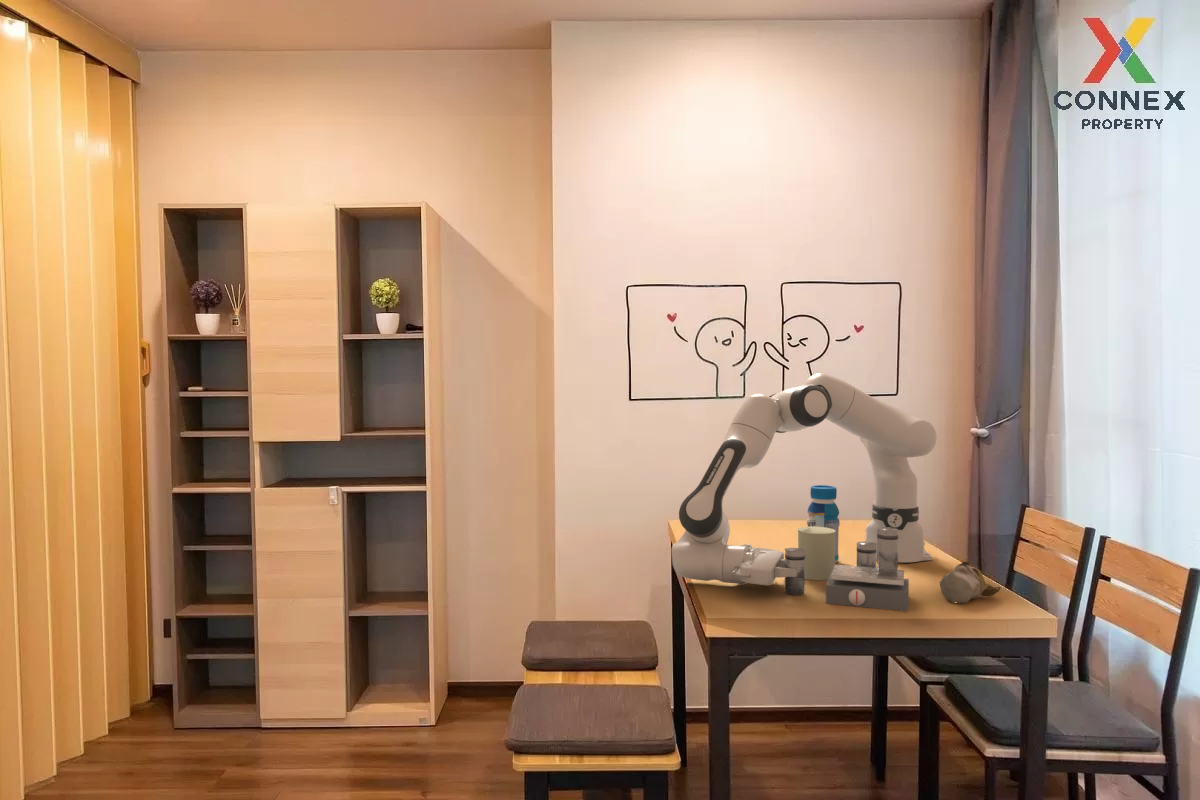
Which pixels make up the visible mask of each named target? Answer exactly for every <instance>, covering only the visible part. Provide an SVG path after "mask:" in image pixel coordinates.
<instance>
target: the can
mask: <svg viewBox="0 0 1200 800" xmlns="http://www.w3.org/2000/svg"><path fill="white" fill-rule="evenodd" d="M835 533H836V531H835V530H834V529H831V528H826V527H808V526H801V527H798V529H797V535H798V537H797V538H798V539H797V548H800V549H804V550H805V580H809V581H828V579H829V576H830V573H832V571H833V569H834V566H835V565H836V563H835Z"/></svg>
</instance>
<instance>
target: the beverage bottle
mask: <svg viewBox="0 0 1200 800" xmlns="http://www.w3.org/2000/svg"><path fill="white" fill-rule="evenodd" d="M837 491H838V490H837V487H836V486H833V485H827V484H826V485H825V484H820V485H819V484H816V485H811V486H810V492H809V493H810V499H811V500H812V501H811V503H809V506H808V508H807V514H808V517H807V519H806V525H807V527H826V528H831V529H834V530H835V531H836V533H835V564H836V563H838V562H839V559H840V558H839V527H840V524H841V523H840V519H839V514H840V510H839V507H838V506H837V505H838V504H836V502H835V501H836V500H837V495H838V494H837Z"/></svg>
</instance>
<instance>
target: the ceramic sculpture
mask: <svg viewBox="0 0 1200 800" xmlns="http://www.w3.org/2000/svg"><path fill="white" fill-rule="evenodd" d="M939 589H940V593H941V594H942V596H943V597H944V599H946V600H947V601H949V600H950V601H949V602H951V601H952V602H951V603H953V602H957V603H956V604H966V603H968V602H969V601H970V600H973V599H976V598H978V597H980V596H981V597H984V598H985V597H987V598H988V597H992V596H995V595H997V594H998V593H999V592H1000V590H1001V589H1002V587H1001V586H993V585H991V584H988V583H986V581H985V578H984V575H983V573H982V571H981V570H980V569H978V568H977V567H974V566H970V564H969V562H967V561H963V562H961V563H959V564H957V565H956V566H955V567H954V569H953V570H951V571H950V572H947V573H946V574H945V575H944V576H942V578H941V580H940V581H939ZM972 598H973V599H972Z"/></svg>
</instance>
